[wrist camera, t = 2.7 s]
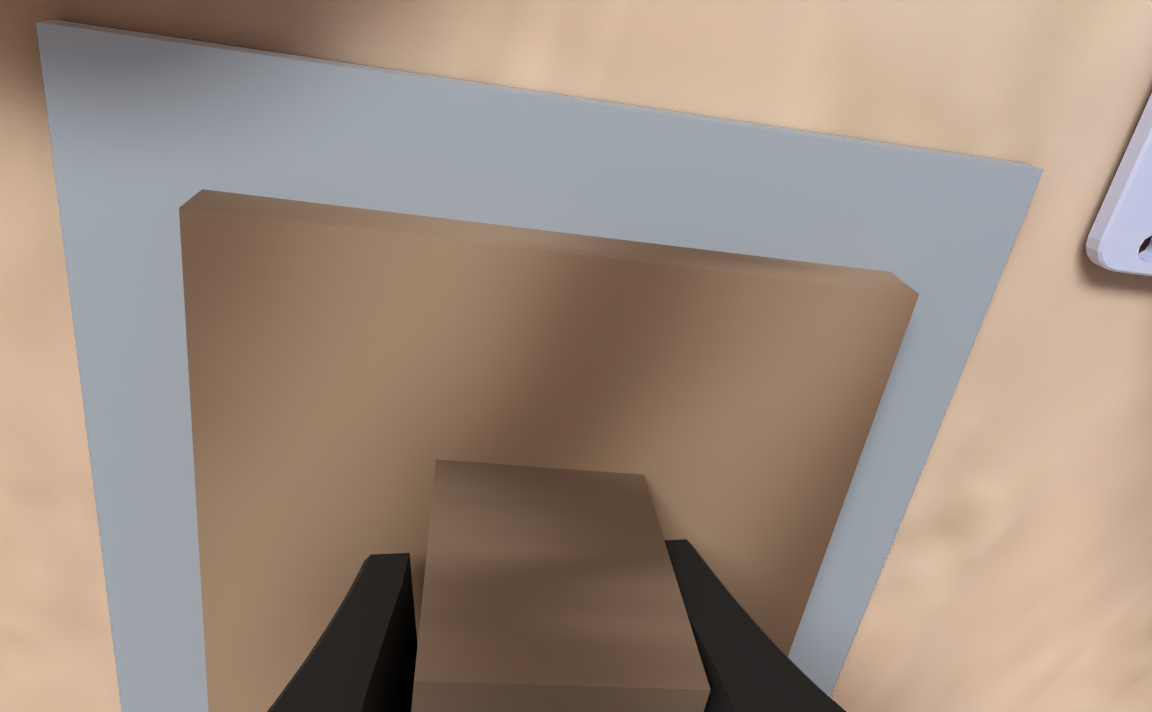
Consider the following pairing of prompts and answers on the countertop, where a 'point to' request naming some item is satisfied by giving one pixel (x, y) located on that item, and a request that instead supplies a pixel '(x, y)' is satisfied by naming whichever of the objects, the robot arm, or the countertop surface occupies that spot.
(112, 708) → the countertop surface
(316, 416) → the cover board
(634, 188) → the rubber mat
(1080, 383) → the countertop surface
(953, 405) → the countertop surface
